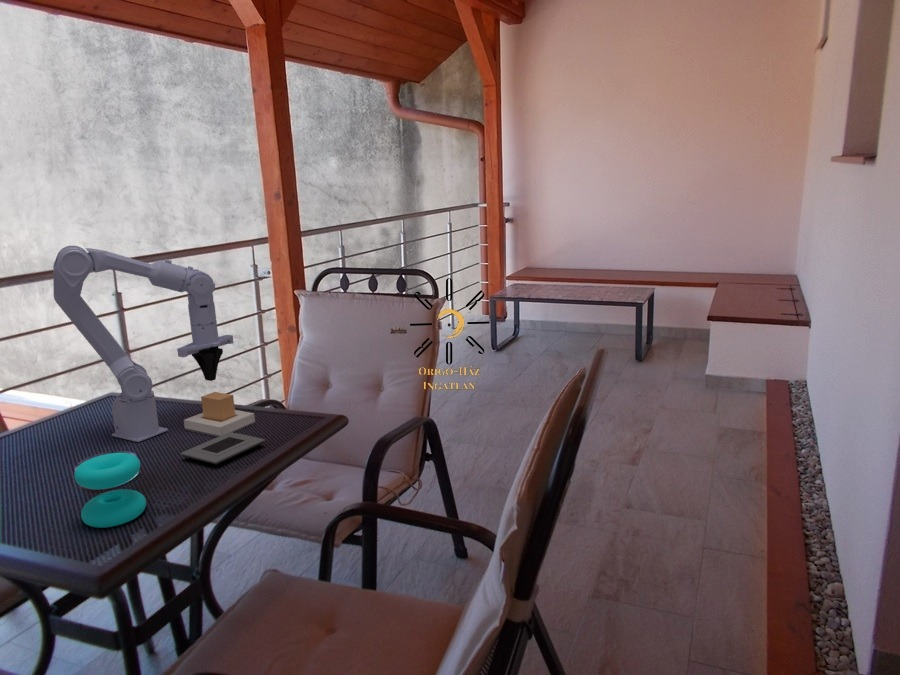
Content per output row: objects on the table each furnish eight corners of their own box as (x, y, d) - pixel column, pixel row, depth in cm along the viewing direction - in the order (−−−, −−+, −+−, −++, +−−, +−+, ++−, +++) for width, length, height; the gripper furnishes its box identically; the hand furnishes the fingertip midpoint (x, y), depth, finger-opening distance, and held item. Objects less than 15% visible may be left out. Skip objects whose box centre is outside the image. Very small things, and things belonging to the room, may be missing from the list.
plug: (204, 425, 159) (201, 396, 157) (218, 420, 162) (214, 391, 161) (223, 429, 156) (219, 400, 154) (236, 423, 159) (233, 394, 158)
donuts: (88, 479, 108) (62, 464, 115) (98, 537, 111) (72, 519, 117) (149, 458, 116) (122, 445, 122) (158, 513, 118) (130, 497, 124)
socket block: (185, 430, 158) (183, 419, 157) (219, 416, 166) (218, 406, 166) (221, 438, 152) (220, 427, 151) (255, 423, 160) (254, 413, 160)
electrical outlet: (231, 440, 151) (230, 430, 151) (266, 448, 146) (265, 437, 146) (181, 462, 141) (179, 451, 140) (216, 472, 135) (215, 460, 135)
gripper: (189, 330, 151) (197, 390, 154) (239, 318, 163) (246, 373, 166) (168, 328, 154) (176, 386, 157) (218, 316, 166) (225, 370, 169)
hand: (210, 379), depth 162 cm, fingers closed
